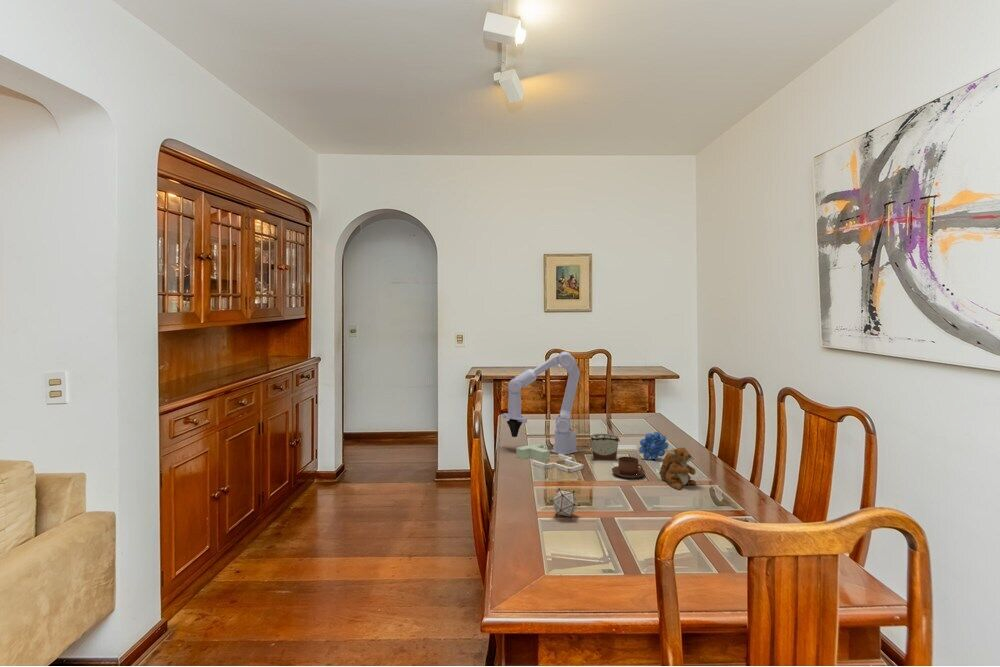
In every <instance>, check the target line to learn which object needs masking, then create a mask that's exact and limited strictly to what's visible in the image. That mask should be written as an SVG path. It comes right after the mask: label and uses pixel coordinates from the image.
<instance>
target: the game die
mask: <svg viewBox="0 0 1000 667" xmlns="http://www.w3.org/2000/svg"><path fill="white" fill-rule="evenodd" d="M557 490H558V492H557V493H556V494H555V496H554V497H553V498H552V499H549V502H551V503H552V506H553V508H554V510H555V512H556V514H555V517H557V516H558V515H560V516H564V517H565V516H566V517H569V518H570V519H571V520H572V519H573V514H574V512H575V510H576V509H577V508H578V507H581V504H579V503H578V501H577V499H576V496H575V492H576V489H574V490H572V491H567V490H562V489H561V488H559V487H558V488H557Z"/></svg>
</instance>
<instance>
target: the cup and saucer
mask: <svg viewBox="0 0 1000 667" xmlns="http://www.w3.org/2000/svg"><path fill="white" fill-rule="evenodd" d="M611 471H612V473H613V474H614V475H616V476H619V477H621V478H626V479H635V478H636V479H637V478H641V477H642V476H644V475H645V473H646V471H645V470H644V467H643V466H642V465H641V464H639V459H638V458H636V457H632V456H620V457H618V465H617V466H613V467H612V468H611ZM636 474H637V475H636Z"/></svg>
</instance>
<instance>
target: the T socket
mask: <svg viewBox="0 0 1000 667" xmlns="http://www.w3.org/2000/svg"><path fill="white" fill-rule="evenodd" d="M557 458H558V459H561V460H563V464H565V465H567V466H565V465H562V464H559V463H558V462H557V463H556V462H550V463H544V462H542V461H539V460H536V459H533V460H532V465H533V466H535V467H536V466H537V467H539V468H541V469H546V470H547V469H551V468H554V469H557V470H562V471H563V472H564V471H565V472H566V473H573V472H574V473H575V472H576V471H582V470H584V469H585V465H584V464H583V463H579V462H576V461H574V457H571V456H568V455H561V454H558V453H557ZM569 466H570V467H569Z"/></svg>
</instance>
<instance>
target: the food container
mask: <svg viewBox="0 0 1000 667" xmlns="http://www.w3.org/2000/svg"><path fill="white" fill-rule="evenodd" d="M589 441H590V443H591V451H592V459H593V461H595V462H596V461H601V462H617V457H618V448H619V443H620V442H621V440H620V437H619V436H618V435H615V434H612V433H611V434H610V433H593V434H592V435H591V436H590V438H589Z"/></svg>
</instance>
